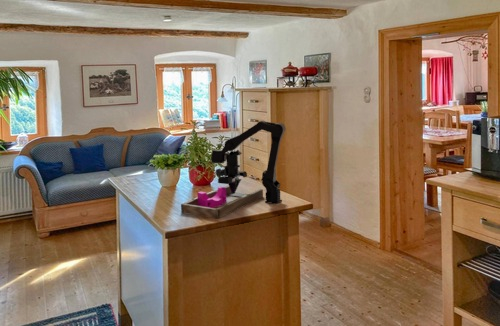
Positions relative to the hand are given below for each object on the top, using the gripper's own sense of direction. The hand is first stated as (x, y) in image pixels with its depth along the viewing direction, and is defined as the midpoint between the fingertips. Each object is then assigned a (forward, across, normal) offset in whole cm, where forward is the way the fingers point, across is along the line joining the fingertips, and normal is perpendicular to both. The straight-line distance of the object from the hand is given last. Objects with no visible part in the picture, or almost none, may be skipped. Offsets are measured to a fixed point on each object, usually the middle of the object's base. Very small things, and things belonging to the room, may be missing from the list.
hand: (233, 193), depth 230 cm
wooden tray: (+3, +8, 0) cm, 9 cm away
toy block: (+4, +11, -4) cm, 13 cm away
